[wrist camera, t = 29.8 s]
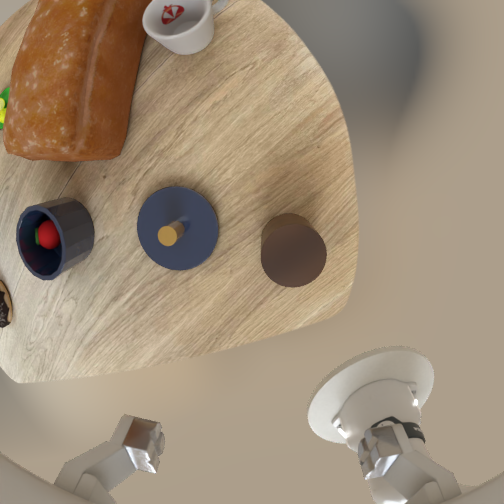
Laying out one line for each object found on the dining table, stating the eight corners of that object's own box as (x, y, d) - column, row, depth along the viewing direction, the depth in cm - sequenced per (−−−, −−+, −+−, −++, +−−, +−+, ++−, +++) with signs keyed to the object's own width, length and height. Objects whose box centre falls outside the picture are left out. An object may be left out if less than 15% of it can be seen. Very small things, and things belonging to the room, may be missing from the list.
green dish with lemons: (-9, 118, 32) (-19, 118, 29) (8, 81, 30) (-2, 79, 27) (6, 136, 33) (-5, 136, 30) (24, 96, 31) (14, 94, 28)
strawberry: (63, 242, 34) (35, 246, 32) (65, 250, 38) (39, 254, 35) (61, 213, 35) (33, 217, 32) (62, 224, 38) (37, 227, 36)
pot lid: (234, 245, 37) (230, 256, 33) (166, 279, 39) (155, 293, 35) (193, 170, 35) (184, 170, 30) (127, 211, 37) (110, 217, 32)
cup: (212, -4, 27) (202, -35, 20) (249, 25, 29) (246, -5, 21) (152, 40, 29) (129, 17, 22) (185, 72, 31) (166, 51, 23)
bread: (54, 161, 35) (-21, 168, 20) (86, 12, 27) (32, -24, 12) (128, 162, 35) (55, 164, 20) (162, -3, 27) (121, -60, 12)
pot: (105, 244, 38) (78, 260, 31) (65, 273, 40) (38, 291, 33) (75, 184, 36) (43, 190, 28) (38, 219, 37) (8, 229, 30)
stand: (323, 252, 37) (336, 270, 30) (276, 274, 38) (278, 297, 32) (301, 204, 36) (310, 212, 29) (251, 228, 37) (249, 242, 30)
